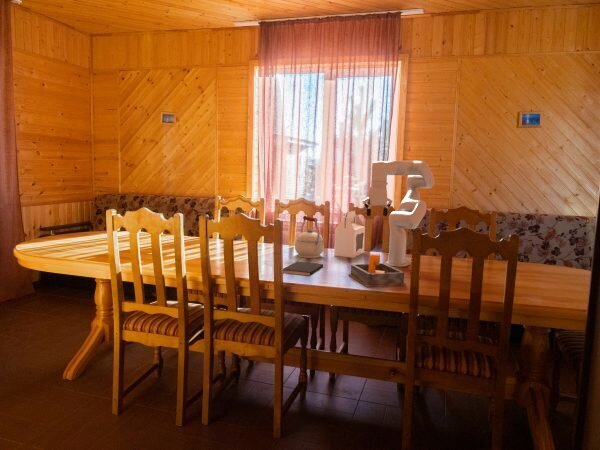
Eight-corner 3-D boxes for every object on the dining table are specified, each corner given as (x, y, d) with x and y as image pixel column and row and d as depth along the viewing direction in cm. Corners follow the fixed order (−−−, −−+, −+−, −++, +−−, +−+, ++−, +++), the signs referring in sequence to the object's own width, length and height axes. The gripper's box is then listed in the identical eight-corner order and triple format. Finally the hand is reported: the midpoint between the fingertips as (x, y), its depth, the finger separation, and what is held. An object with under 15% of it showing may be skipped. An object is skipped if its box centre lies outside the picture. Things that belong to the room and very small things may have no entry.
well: (383, 274, 249) (383, 262, 248) (405, 285, 226) (406, 273, 225) (348, 275, 243) (349, 264, 242) (368, 287, 220) (368, 274, 219)
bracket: (382, 281, 229) (383, 257, 227) (367, 279, 231) (368, 255, 229) (384, 276, 239) (385, 253, 237) (370, 274, 241) (371, 252, 239)
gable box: (345, 250, 317) (346, 209, 313) (364, 252, 311) (365, 210, 308) (333, 255, 297) (335, 212, 293) (353, 257, 291) (355, 213, 288)
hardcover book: (281, 273, 247) (281, 269, 247) (296, 265, 268) (297, 261, 268) (310, 276, 241) (310, 272, 241) (323, 267, 263) (323, 263, 263)
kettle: (288, 253, 299) (289, 215, 296) (313, 252, 307) (314, 214, 304) (307, 261, 277) (308, 219, 274) (333, 259, 286) (334, 218, 282)
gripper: (389, 184, 257) (388, 215, 259) (360, 183, 252) (359, 215, 254) (396, 184, 250) (394, 216, 252) (366, 184, 245) (365, 216, 247)
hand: (376, 215), depth 253 cm, fingers open, 9 cm apart
